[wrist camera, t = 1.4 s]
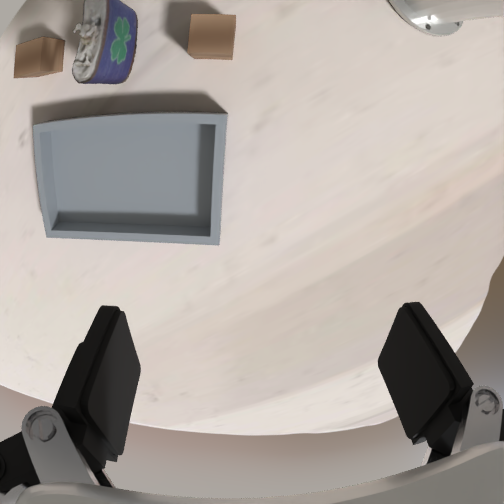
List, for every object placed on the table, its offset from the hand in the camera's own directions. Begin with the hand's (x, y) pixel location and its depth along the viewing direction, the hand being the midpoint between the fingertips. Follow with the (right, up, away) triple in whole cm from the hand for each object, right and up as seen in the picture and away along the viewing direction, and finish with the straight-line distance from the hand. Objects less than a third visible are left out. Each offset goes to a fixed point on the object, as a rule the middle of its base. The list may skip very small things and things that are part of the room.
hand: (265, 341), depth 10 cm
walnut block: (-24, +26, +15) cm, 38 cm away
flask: (-14, +25, +16) cm, 33 cm away
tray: (-15, +12, +23) cm, 29 cm away
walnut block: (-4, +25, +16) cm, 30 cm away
